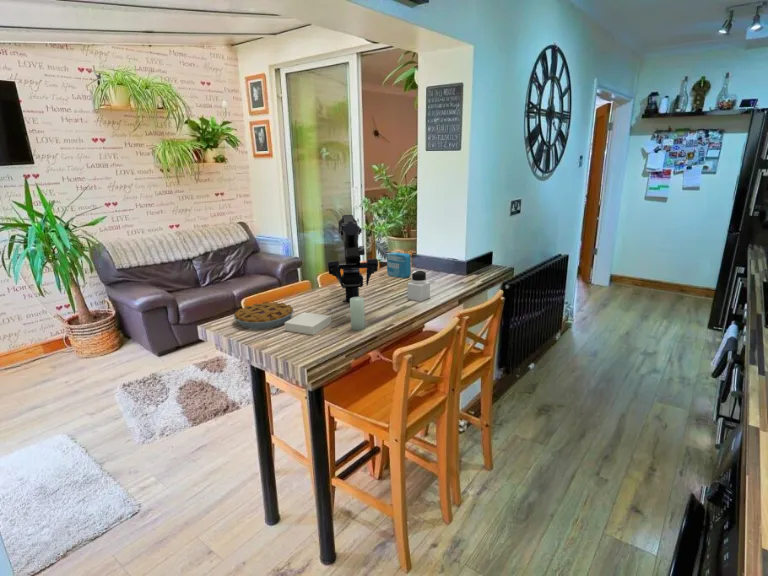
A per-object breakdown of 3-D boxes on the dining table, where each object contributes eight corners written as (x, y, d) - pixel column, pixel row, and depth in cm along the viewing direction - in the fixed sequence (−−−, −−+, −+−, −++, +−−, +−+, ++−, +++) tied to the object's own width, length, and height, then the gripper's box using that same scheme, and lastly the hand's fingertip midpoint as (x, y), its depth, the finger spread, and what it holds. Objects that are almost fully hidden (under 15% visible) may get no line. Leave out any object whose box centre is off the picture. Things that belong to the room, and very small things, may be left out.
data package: (387, 275, 233) (386, 253, 229) (392, 273, 236) (391, 251, 233) (406, 278, 226) (405, 255, 222) (410, 276, 229) (410, 253, 226)
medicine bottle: (430, 297, 193) (430, 271, 190) (420, 301, 188) (420, 274, 185) (416, 295, 197) (416, 268, 194) (407, 299, 192) (407, 272, 189)
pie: (270, 308, 186) (269, 296, 184) (305, 318, 172) (304, 306, 171) (223, 323, 169) (222, 310, 168) (257, 335, 156) (256, 322, 155)
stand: (304, 319, 170) (303, 312, 169) (331, 323, 165) (330, 315, 164) (285, 330, 160) (284, 322, 159) (313, 334, 155) (312, 326, 154)
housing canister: (354, 324, 163) (353, 296, 160) (367, 326, 162) (366, 297, 159) (349, 329, 159) (347, 300, 156) (362, 331, 157) (360, 301, 154)
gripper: (326, 239, 164) (328, 276, 156) (376, 237, 166) (381, 273, 158) (327, 256, 173) (329, 291, 166) (375, 253, 176) (379, 288, 168)
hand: (354, 285), depth 164 cm, fingers open, 9 cm apart
